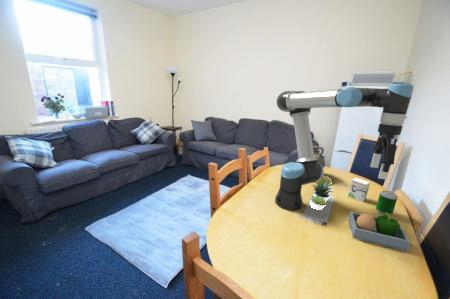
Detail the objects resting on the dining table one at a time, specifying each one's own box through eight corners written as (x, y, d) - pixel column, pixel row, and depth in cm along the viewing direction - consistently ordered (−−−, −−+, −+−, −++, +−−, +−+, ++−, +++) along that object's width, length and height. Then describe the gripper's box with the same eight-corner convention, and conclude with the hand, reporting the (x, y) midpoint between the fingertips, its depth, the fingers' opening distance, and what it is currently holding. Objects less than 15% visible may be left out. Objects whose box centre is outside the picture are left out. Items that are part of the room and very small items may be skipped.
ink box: (347, 196, 130) (351, 179, 126) (350, 194, 133) (354, 177, 129) (363, 202, 123) (367, 184, 120) (366, 199, 126) (370, 182, 123)
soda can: (395, 217, 109) (401, 197, 106) (379, 215, 111) (385, 195, 107) (387, 209, 116) (393, 190, 113) (372, 208, 118) (377, 188, 114)
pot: (320, 182, 148) (326, 149, 141) (291, 175, 159) (295, 143, 152) (324, 173, 165) (330, 143, 158) (298, 167, 175) (302, 138, 168)
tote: (352, 237, 93) (355, 228, 92) (348, 219, 106) (350, 211, 105) (407, 251, 86) (410, 242, 85) (395, 230, 99) (398, 222, 97)
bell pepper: (398, 243, 90) (405, 223, 87) (376, 237, 93) (381, 217, 90) (392, 231, 97) (398, 212, 94) (372, 226, 100) (376, 208, 97)
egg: (376, 237, 93) (381, 220, 90) (358, 234, 94) (362, 218, 92) (369, 226, 100) (373, 211, 97) (352, 224, 101) (356, 209, 99)
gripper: (415, 130, 71) (398, 186, 77) (392, 120, 93) (380, 164, 99) (389, 127, 74) (374, 182, 80) (372, 119, 96) (362, 162, 102)
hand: (377, 172), depth 89 cm, fingers open, 13 cm apart
